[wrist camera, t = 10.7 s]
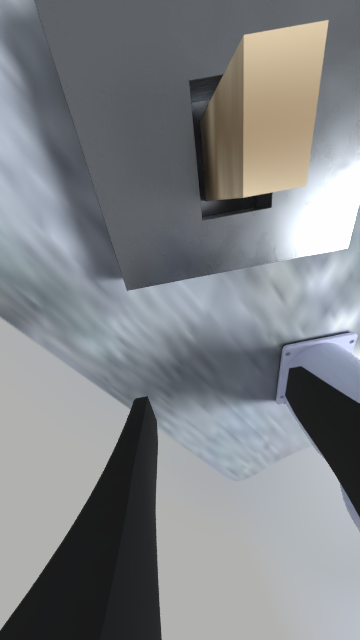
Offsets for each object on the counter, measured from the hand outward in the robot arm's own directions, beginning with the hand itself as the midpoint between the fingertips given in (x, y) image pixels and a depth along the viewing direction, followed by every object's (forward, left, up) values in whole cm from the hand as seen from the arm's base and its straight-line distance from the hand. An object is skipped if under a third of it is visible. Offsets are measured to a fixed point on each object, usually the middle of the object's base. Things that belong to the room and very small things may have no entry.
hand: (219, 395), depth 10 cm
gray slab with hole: (+11, -4, -9) cm, 15 cm away
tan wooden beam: (+11, -4, -9) cm, 15 cm away
